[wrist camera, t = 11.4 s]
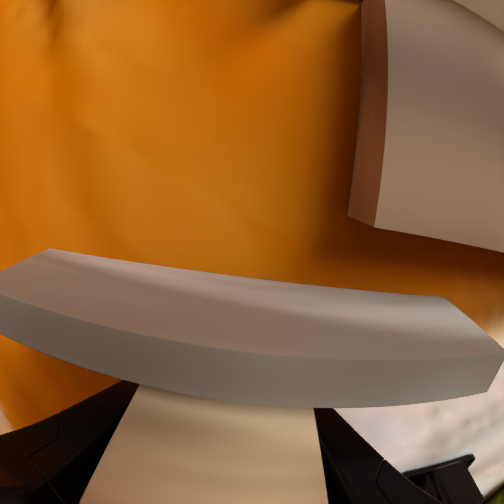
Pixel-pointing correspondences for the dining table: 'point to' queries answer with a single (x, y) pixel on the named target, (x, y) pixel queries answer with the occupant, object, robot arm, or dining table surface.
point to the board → (430, 123)
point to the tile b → (487, 10)
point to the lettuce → (497, 498)
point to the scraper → (234, 369)
